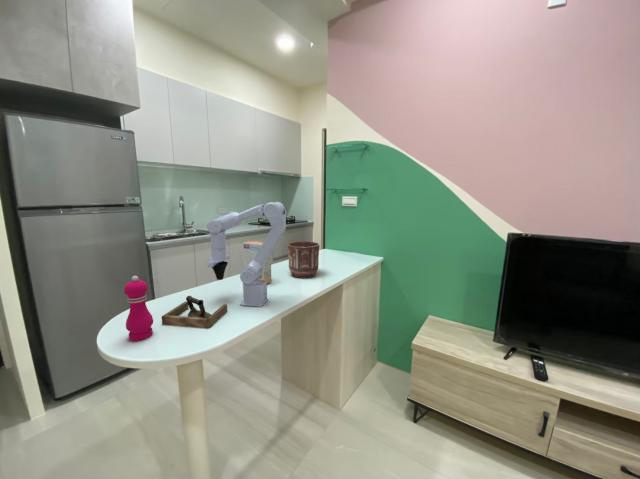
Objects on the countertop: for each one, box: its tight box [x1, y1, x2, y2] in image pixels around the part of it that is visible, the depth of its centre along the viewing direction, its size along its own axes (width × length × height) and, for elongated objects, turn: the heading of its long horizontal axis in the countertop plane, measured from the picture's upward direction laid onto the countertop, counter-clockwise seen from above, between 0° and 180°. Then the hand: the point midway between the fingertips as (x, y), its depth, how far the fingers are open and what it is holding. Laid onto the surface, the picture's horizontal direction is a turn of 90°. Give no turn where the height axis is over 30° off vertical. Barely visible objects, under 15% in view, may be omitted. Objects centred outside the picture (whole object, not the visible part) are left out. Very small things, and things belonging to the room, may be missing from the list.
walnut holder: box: [161, 301, 228, 329], centre depth 97 cm, size 17×13×3 cm
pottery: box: [286, 241, 320, 279], centre depth 150 cm, size 18×18×18 cm
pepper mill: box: [123, 275, 154, 342], centre depth 83 cm, size 7×7×20 cm
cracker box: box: [243, 240, 272, 285], centre depth 137 cm, size 14×6×21 cm, turn 58°
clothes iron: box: [185, 295, 212, 318], centre depth 97 cm, size 7×11×10 cm, turn 53°
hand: (220, 279), depth 112 cm, fingers closed
